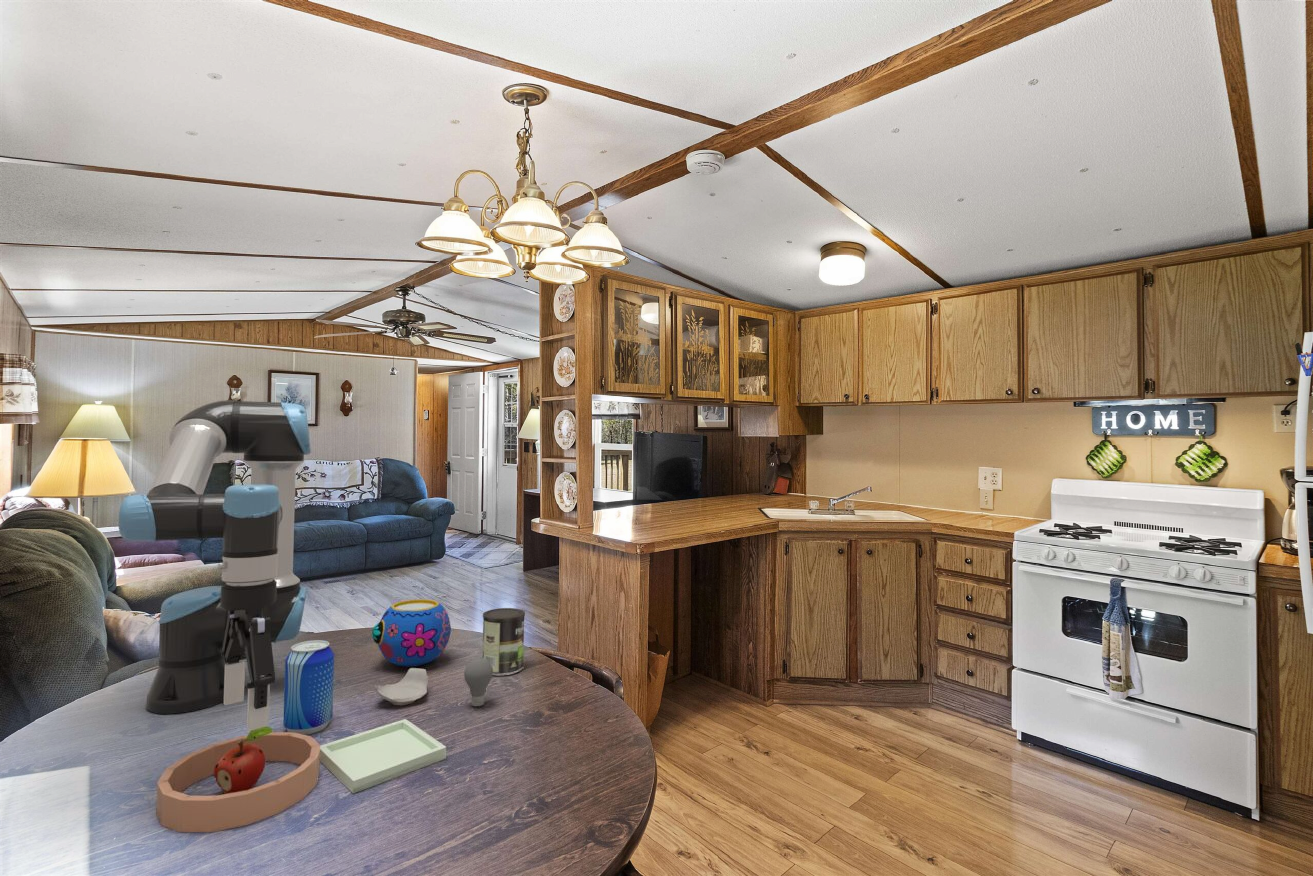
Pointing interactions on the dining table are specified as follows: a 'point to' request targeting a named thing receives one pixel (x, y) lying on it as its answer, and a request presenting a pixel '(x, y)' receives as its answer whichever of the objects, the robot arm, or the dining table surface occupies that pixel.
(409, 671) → the pottery shard
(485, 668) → the light bulb
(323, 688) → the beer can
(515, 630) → the coffee can
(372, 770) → the tray
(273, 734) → the ring band
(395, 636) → the ceramic pot
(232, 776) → the apple
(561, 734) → the dining table surface
